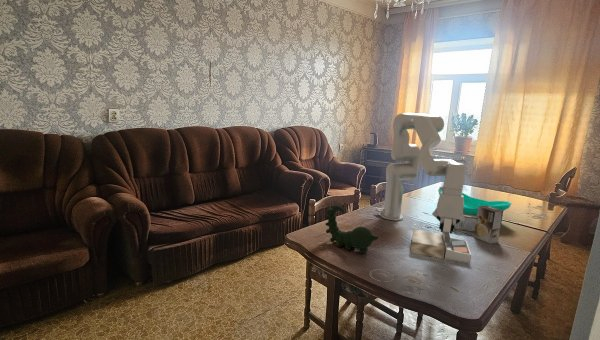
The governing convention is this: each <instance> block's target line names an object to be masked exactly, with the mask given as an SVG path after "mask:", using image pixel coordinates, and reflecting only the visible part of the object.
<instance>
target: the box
mask: <svg viewBox="0 0 600 340" xmlns="http://www.w3.org/2000/svg"><path fill="white" fill-rule="evenodd" d="M462 240H464V242H465V246H466V248H467V251H468V254H467V253H462V252H457V251H454V250H453V246H452V241H462ZM444 244H445V251H444V258H443V259H444V260H448V261H449V260H450V261H453V262H459V263H462V264H463V263H464V264H470V265H471V259H472V252H471V250H470V246H469V243H468V240H465V239H461V238H455V237H451V236H450V242H449V243H446V242H444Z"/></svg>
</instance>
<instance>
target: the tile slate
mask: <svg viewBox="0 0 600 340" xmlns="http://www.w3.org/2000/svg"><path fill="white" fill-rule="evenodd" d="M464 240H465V239H462V241H452V246H453V247H466V246H465V242H464ZM453 250H454V249H453Z"/></svg>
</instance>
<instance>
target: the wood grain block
mask: <svg viewBox="0 0 600 340" xmlns="http://www.w3.org/2000/svg"><path fill="white" fill-rule="evenodd" d="M444 251H445V244H444V239H443V234H442V233H439V232H438V233H437V232H432V231H426V230H421V229H415V228H413V229H412V236H411V245H410V253H414V254H418V255H423V256H427V257H434V258H437V259H445V258H444Z"/></svg>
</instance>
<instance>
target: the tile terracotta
mask: <svg viewBox="0 0 600 340" xmlns="http://www.w3.org/2000/svg"><path fill="white" fill-rule="evenodd" d="M453 249H454V251H457V252H462V253H467V254H468V251H467V248H466V247H453Z"/></svg>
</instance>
